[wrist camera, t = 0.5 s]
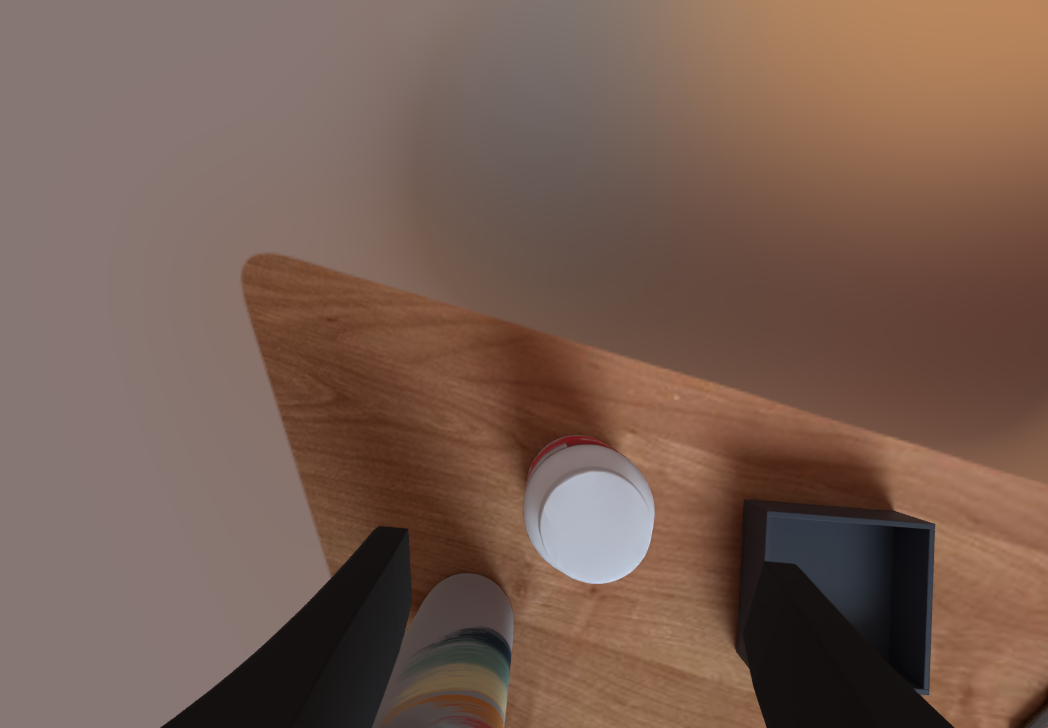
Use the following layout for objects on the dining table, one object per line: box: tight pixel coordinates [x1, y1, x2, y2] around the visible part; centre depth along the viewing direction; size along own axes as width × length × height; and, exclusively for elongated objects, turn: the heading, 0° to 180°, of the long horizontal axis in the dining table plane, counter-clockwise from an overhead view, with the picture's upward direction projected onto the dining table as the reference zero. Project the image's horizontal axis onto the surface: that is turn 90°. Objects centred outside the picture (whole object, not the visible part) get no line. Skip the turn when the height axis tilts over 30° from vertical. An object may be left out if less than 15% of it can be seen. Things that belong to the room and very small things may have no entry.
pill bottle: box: [523, 435, 655, 584], centre depth 29 cm, size 6×6×11 cm
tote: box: [736, 499, 935, 695], centre depth 32 cm, size 9×9×3 cm
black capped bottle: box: [372, 573, 514, 728], centre depth 24 cm, size 6×6×20 cm
